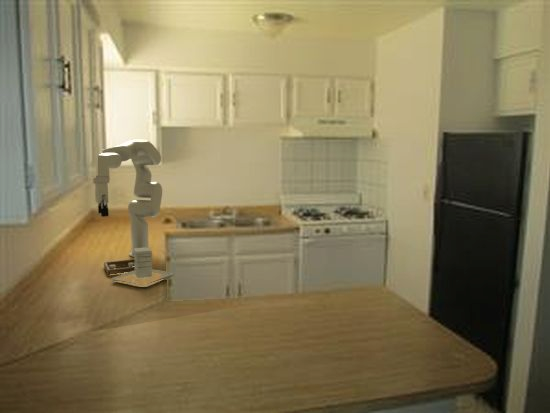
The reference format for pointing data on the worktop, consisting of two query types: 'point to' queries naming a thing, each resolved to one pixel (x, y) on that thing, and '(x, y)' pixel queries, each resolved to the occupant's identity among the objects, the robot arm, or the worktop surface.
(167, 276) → the salad plate
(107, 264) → the parts tray
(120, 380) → the worktop surface
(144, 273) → the supplement box
